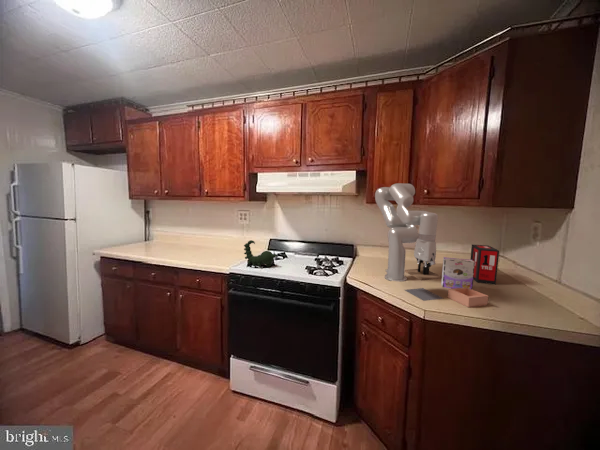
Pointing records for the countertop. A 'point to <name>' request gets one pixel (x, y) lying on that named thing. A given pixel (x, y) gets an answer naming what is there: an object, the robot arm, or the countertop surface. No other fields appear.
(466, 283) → the candy box
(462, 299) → the pink square tray
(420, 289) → the grey flat piece
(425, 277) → the lid
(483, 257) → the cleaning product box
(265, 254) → the toy figurine
